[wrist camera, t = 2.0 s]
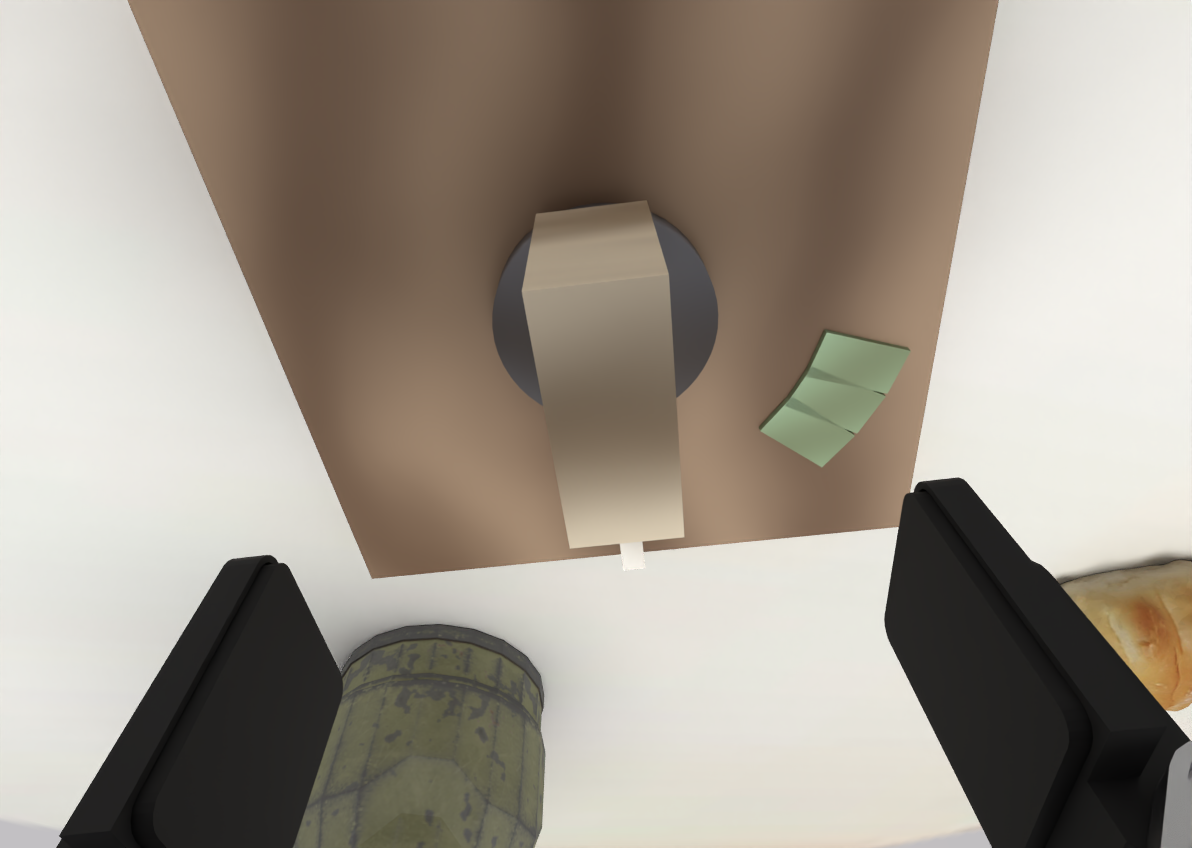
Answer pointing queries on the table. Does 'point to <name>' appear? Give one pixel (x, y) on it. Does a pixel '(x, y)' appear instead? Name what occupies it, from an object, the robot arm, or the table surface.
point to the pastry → (1145, 623)
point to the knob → (609, 362)
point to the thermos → (432, 746)
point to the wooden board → (573, 178)
